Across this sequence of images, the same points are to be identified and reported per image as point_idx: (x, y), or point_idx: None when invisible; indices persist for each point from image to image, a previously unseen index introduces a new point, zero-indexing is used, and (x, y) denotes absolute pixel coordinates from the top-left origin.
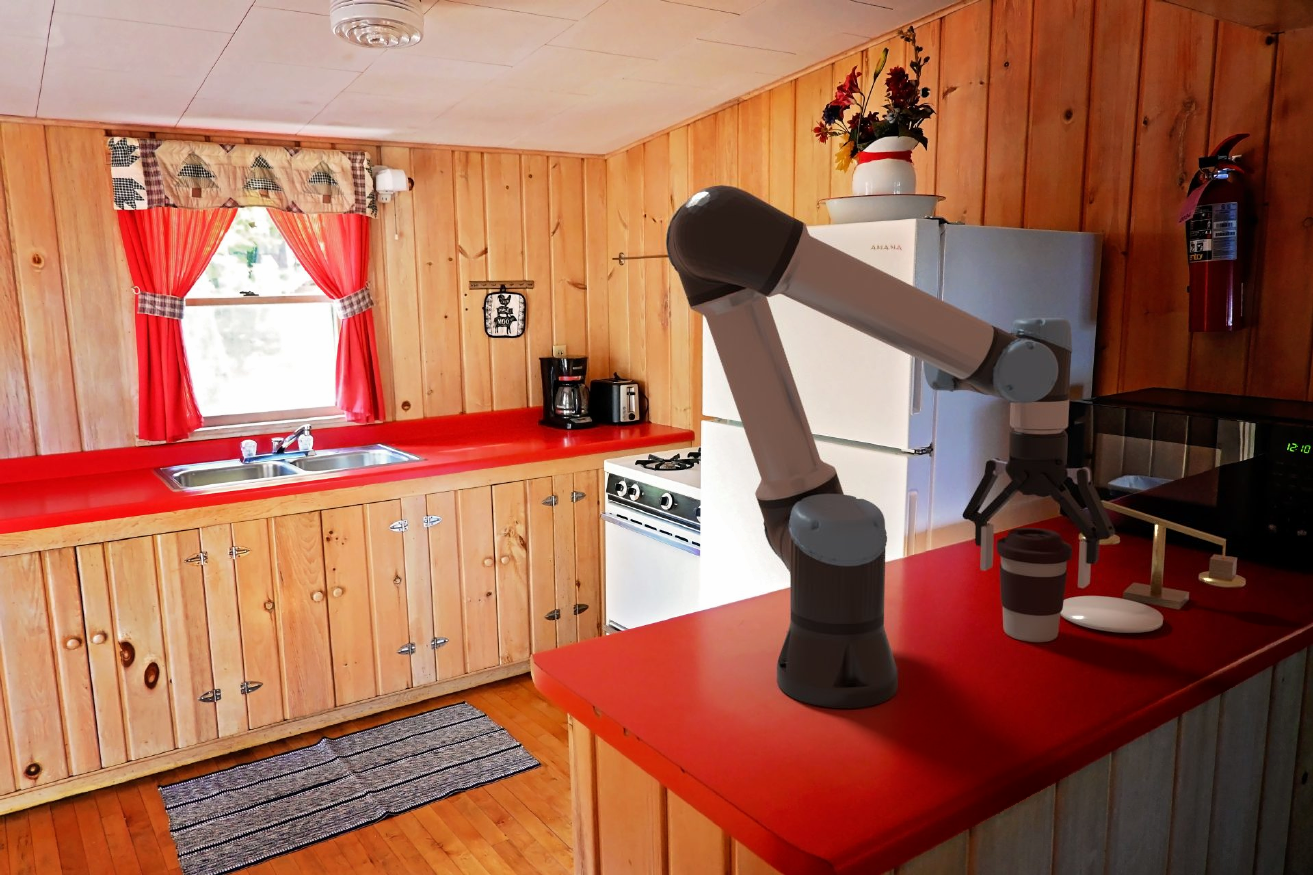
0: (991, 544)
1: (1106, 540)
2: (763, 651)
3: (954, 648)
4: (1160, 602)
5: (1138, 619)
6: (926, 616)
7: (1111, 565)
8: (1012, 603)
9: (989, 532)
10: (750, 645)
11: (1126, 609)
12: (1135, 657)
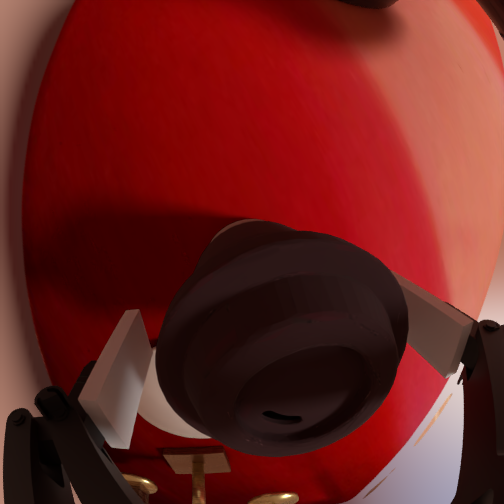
0: (412, 334)
1: (258, 501)
2: (434, 12)
3: (312, 111)
4: (182, 451)
5: (151, 394)
6: (403, 218)
7: (278, 486)
8: (276, 223)
9: (441, 339)
10: (448, 22)
11: None
12: (92, 284)
